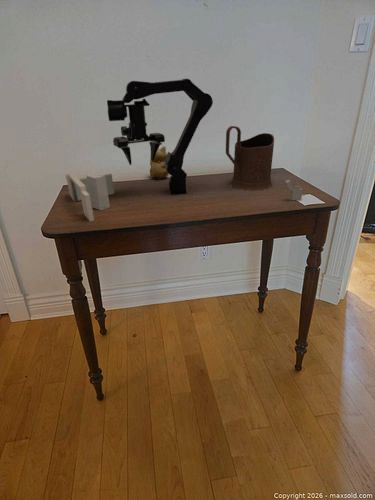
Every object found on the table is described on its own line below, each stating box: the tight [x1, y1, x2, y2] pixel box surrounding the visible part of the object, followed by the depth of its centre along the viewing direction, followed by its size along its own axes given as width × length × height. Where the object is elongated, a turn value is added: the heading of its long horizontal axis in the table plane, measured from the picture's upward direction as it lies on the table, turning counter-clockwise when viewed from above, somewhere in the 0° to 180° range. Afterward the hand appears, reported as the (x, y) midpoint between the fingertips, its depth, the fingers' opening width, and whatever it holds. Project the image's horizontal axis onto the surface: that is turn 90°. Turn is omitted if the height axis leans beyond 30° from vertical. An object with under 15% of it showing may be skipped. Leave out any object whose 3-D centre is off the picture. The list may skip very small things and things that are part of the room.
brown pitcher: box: [225, 125, 275, 192], centre depth 129 cm, size 18×24×25 cm
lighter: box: [284, 178, 304, 202], centre depth 115 cm, size 7×2×8 cm, turn 101°
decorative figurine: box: [149, 145, 170, 180], centre depth 145 cm, size 10×8×15 cm
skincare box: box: [85, 173, 111, 211], centre depth 113 cm, size 6×4×12 cm
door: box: [71, 173, 115, 202], centre depth 124 cm, size 16×2×8 cm, turn 120°
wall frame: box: [65, 172, 95, 222], centre depth 114 cm, size 32×2×11 cm, turn 30°
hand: (141, 162), depth 121 cm, fingers open, 9 cm apart
